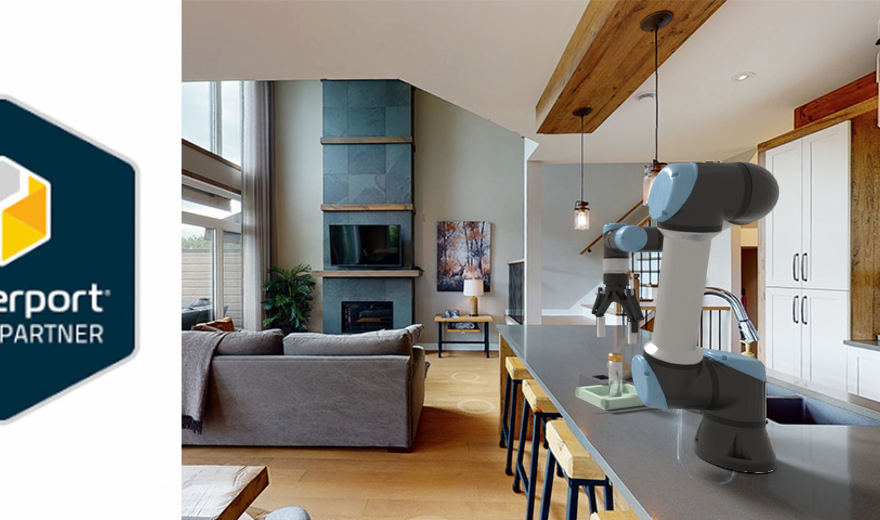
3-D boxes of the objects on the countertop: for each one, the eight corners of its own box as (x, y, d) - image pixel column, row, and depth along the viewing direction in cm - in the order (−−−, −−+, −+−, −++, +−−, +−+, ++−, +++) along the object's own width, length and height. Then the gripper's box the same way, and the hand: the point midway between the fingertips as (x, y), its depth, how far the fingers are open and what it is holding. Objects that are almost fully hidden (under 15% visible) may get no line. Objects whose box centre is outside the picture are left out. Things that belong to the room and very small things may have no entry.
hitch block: (626, 392, 142) (626, 380, 142) (602, 395, 139) (602, 383, 139) (602, 383, 154) (602, 372, 154) (579, 385, 150) (579, 374, 150)
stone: (625, 378, 165) (639, 360, 160) (629, 391, 159) (644, 373, 154) (600, 369, 165) (613, 351, 160) (603, 382, 159) (617, 363, 154)
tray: (624, 392, 143) (624, 382, 143) (657, 404, 130) (657, 394, 130) (575, 397, 137) (575, 387, 137) (604, 411, 124) (604, 400, 124)
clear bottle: (625, 399, 132) (625, 354, 132) (614, 401, 131) (614, 355, 131) (615, 395, 136) (616, 352, 136) (605, 397, 135) (605, 352, 135)
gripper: (657, 272, 123) (657, 346, 123) (598, 272, 147) (598, 334, 146) (636, 272, 121) (636, 347, 120) (580, 272, 144) (580, 335, 144)
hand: (616, 340), depth 133 cm, fingers open, 13 cm apart
